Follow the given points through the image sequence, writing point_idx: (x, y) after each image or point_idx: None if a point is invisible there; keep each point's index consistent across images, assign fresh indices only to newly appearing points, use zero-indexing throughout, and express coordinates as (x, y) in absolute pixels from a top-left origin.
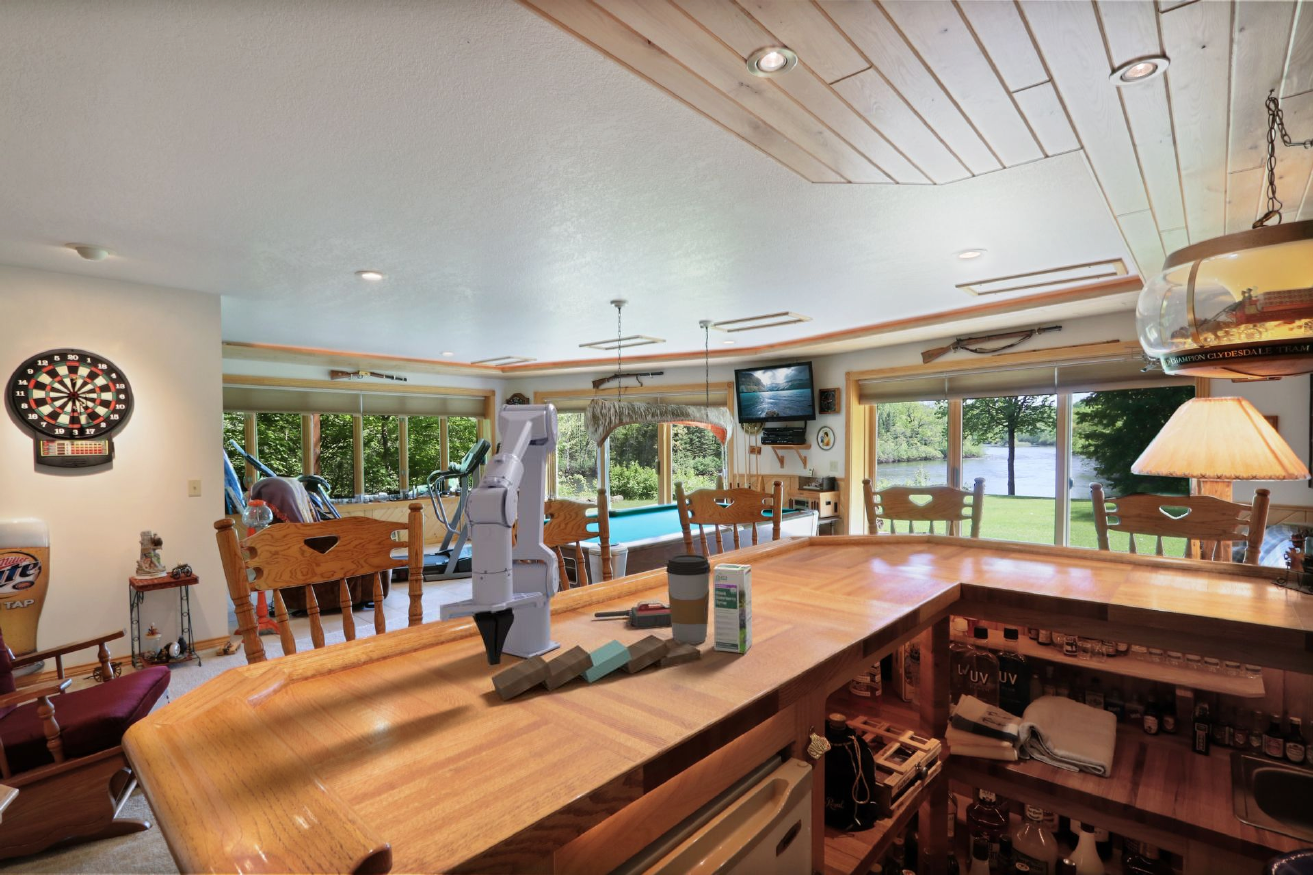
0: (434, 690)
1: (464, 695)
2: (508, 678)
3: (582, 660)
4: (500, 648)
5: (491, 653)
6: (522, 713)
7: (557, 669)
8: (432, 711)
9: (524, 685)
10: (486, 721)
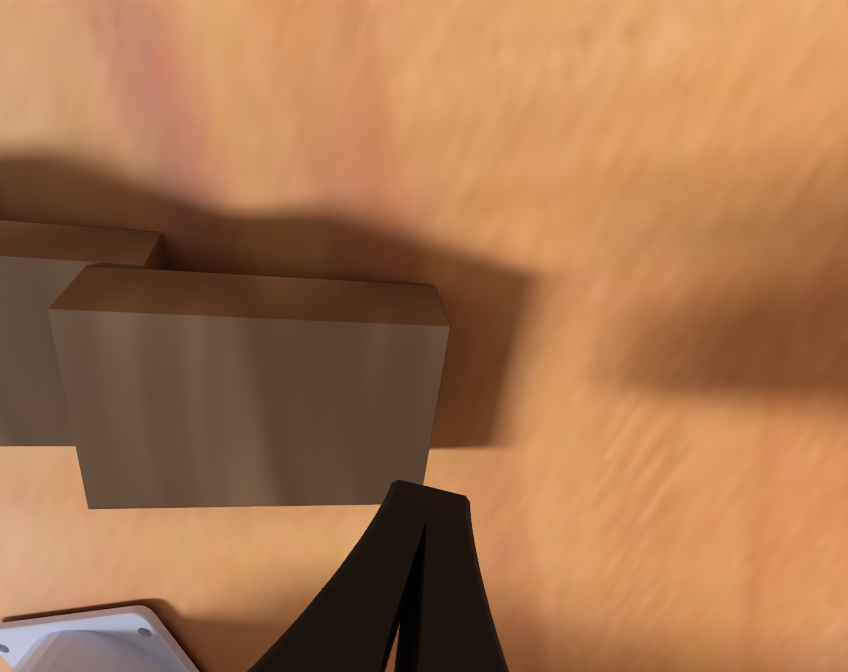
0: (644, 618)
1: (567, 490)
2: (355, 398)
3: None
4: (365, 570)
5: (459, 566)
6: (420, 36)
7: (28, 299)
8: (804, 437)
9: (289, 291)
10: (666, 88)
